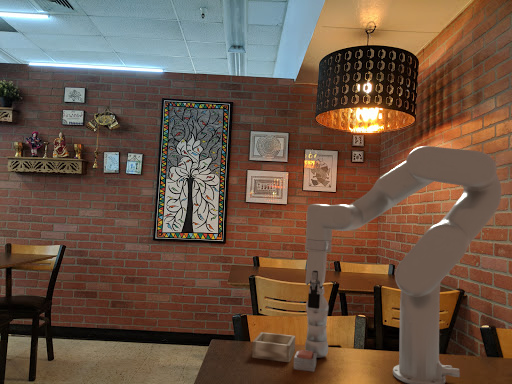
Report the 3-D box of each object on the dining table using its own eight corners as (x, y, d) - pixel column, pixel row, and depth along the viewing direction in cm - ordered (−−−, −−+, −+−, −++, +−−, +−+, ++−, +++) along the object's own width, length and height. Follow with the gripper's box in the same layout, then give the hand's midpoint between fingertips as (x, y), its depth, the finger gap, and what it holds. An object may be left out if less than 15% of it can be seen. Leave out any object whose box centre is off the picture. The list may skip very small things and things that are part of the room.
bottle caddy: (294, 351, 121) (295, 335, 121) (289, 362, 112) (289, 345, 112) (260, 346, 124) (261, 332, 124) (252, 357, 114) (252, 341, 115)
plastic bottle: (329, 360, 114) (331, 289, 115) (305, 360, 114) (307, 288, 115) (326, 353, 120) (327, 285, 121) (303, 352, 120) (305, 284, 121)
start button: (312, 363, 110) (313, 351, 110) (311, 368, 107) (311, 355, 107) (299, 361, 111) (299, 349, 111) (297, 366, 108) (297, 354, 108)
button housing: (316, 364, 111) (316, 353, 111) (314, 371, 106) (314, 360, 106) (296, 361, 112) (297, 350, 112) (293, 369, 107) (293, 357, 107)
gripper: (309, 242, 128) (306, 297, 127) (301, 247, 111) (298, 309, 111) (333, 244, 126) (330, 299, 125) (328, 249, 109) (325, 312, 109)
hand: (315, 304), depth 118 cm, fingers open, 9 cm apart
